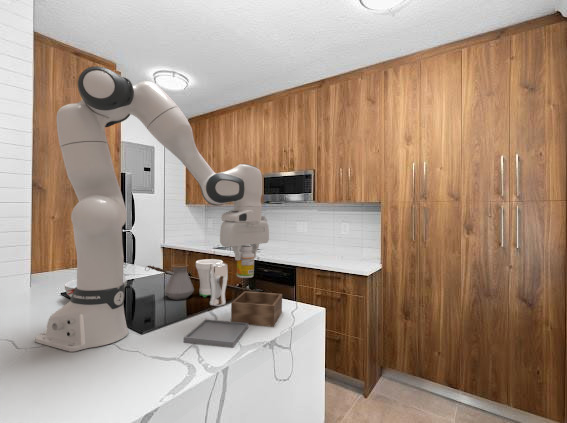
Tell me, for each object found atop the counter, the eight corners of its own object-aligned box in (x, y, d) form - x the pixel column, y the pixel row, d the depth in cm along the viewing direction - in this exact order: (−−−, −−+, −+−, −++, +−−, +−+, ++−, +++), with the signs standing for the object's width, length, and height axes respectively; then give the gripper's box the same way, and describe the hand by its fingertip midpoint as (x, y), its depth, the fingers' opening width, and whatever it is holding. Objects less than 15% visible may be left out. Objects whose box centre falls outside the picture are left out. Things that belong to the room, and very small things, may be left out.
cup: (203, 300, 120) (204, 264, 120) (189, 294, 128) (190, 260, 128) (227, 295, 128) (228, 261, 128) (213, 290, 136) (214, 258, 136)
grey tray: (183, 342, 83) (183, 337, 83) (205, 323, 96) (205, 319, 96) (233, 347, 80) (233, 342, 80) (248, 327, 94) (248, 323, 94)
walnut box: (230, 322, 98) (231, 302, 98) (243, 309, 111) (244, 291, 111) (273, 326, 95) (274, 306, 95) (281, 312, 109) (282, 294, 109)
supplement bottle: (237, 274, 100) (238, 244, 100) (253, 274, 101) (254, 245, 101) (236, 278, 95) (237, 246, 95) (253, 278, 96) (254, 247, 96)
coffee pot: (180, 291, 132) (181, 257, 132) (199, 295, 127) (200, 259, 127) (135, 304, 114) (136, 264, 114) (156, 309, 108) (157, 267, 108)
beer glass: (229, 301, 120) (230, 263, 120) (223, 307, 113) (224, 266, 113) (211, 300, 121) (212, 262, 121) (205, 306, 114) (206, 265, 114)
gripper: (259, 215, 108) (258, 254, 108) (217, 214, 91) (215, 261, 91) (274, 216, 105) (272, 256, 105) (233, 215, 88) (231, 263, 88)
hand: (245, 258), depth 98 cm, fingers closed on supplement bottle, 5 cm apart
